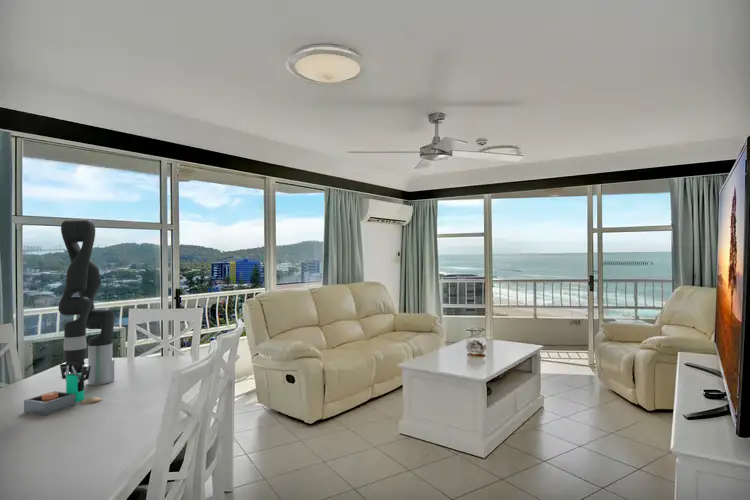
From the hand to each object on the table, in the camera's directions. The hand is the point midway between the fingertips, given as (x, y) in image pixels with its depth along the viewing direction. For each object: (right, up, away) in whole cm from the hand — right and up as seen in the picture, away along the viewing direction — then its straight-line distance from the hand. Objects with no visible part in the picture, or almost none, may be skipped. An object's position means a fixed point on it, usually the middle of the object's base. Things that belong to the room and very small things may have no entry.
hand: (75, 390), depth 171 cm
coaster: (+7, -4, -1) cm, 8 cm away
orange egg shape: (-3, -1, -10) cm, 10 cm away
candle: (0, -4, 0) cm, 4 cm away
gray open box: (-3, -4, -10) cm, 11 cm away
